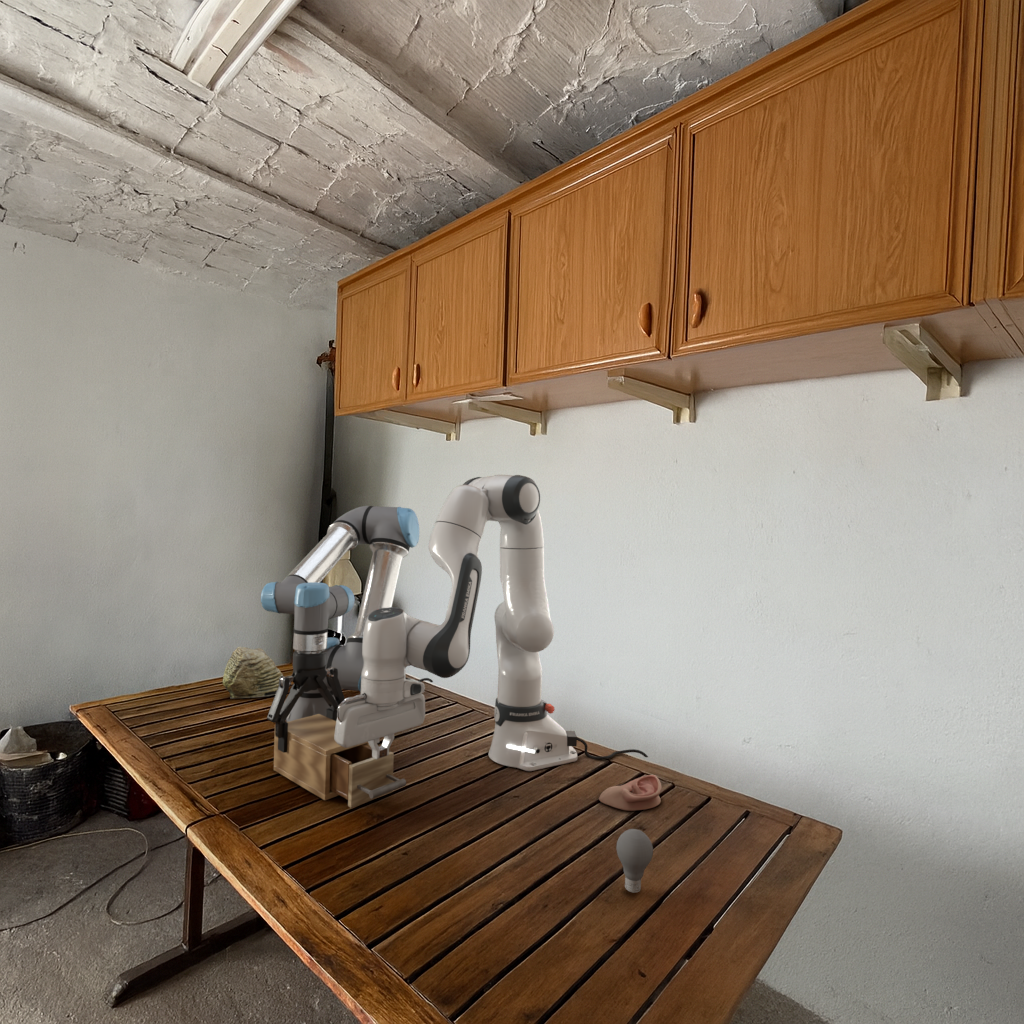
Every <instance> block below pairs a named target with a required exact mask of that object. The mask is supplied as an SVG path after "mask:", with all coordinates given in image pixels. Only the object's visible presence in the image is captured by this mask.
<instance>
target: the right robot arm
mask: <svg viewBox="0 0 1024 1024" xmlns="http://www.w3.org/2000/svg"><path fill="white" fill-rule="evenodd" d="M540 505H541V492H540V490H539V487H538V485H537V483H536V482H535V480H534V479H532V478H531V477H528V476H525V475H521V474H514V475H511V474H493V475H489V476H488V475H487V476H483V477H482V476H477V477H473V478H472V477H471V478H470V479H468V480H466V481H465V482H464V483H462V484H460V485H457V486H455V487H454V488H452V490H451V491H450V492H449V494H448V495H447V497H446V499H445V500H444V502H443V504H442V506H441V508H440V510H439V512H438V514H437V517H436V518H435V521H434V524H433V527H432V529H431V532H430V535H429V540H428V552H429V554H430V557H431V558H432V560H433V562H435V563H436V565H437V566H438V567H440V569H442V570H443V571H445V572H446V573H447V575H448V576H449V577H450V580H451V590H450V595H449V599H448V605H447V610H446V613H445V617H444V620H443V622H442V623H441V624H438V623H433V622H429V621H426V620H421V619H419V618H416V617H413V616H411V615H409V614H407V613H406V612H405V611H404V609H403V608H400V607H396V606H392V607H389V608H381V609H377V610H375V611H373V612H372V613H370V614H369V615H368V617H367V619H366V622H365V626H364V632H363V643H362V656H363V660H364V665H363V669H362V673H361V692H360V693H359V694H357V695H354V696H348V697H344V698H345V699H344V701H343V702H341V704H340V705H339V706H338V712H337V720H336V726H335V735H334V739H335V741H336V743H337V744H339V745H340V746H342V747H345V748H349V747H352V746H355V745H358V744H361V743H365V742H368V743H369V745H370V747H371V748H372V757H373V758H374V759H379V758H382V757H385V756H388V755H389V752H390V748H391V746H392V744H393V742H394V739H395V734H397V733H399V732H403V731H406V730H409V729H412V728H416V727H420V726H422V725H423V723H424V721H425V718H426V697H425V695H424V692H425V688H426V685H425V684H424V682H419V681H418V680H416V679H414V678H411V677H406V668H407V667H410V666H412V667H413V668H416V669H419V670H423V671H427V672H428V673H430V674H433V675H434V676H437V677H439V678H442V679H448V678H452V677H453V676H455V675H457V674H458V673H460V672H461V671H462V670H463V669H464V667H466V664H467V663H468V661H469V658H470V655H471V654H470V653H471V637H472V636H471V635H472V628H473V623H474V618H475V613H476V608H477V603H478V599H479V598H478V597H479V592H480V588H481V582H482V574H483V567H482V566H483V565H482V562H481V560H480V559H479V549H480V544H481V541H482V537H483V536H484V535H483V534H484V531H485V528H486V525H487V522H497V523H498V524H499V526H500V531H499V532H500V533H499V579H500V583H501V587H502V593H503V600H502V601H501V602H500V603H499V604H498V605H497V607H496V608H495V611H494V615H493V617H494V626H495V644H496V655H497V668H498V671H497V693H496V694H497V695H496V696H497V697H496V698H495V703H494V711H493V712H494V715H493V717H494V722H495V723H494V730H493V735H492V740H491V743H490V747H489V750H488V752H487V753H488V755H487V756H488V757H489V759H490V760H491V761H493V762H494V763H497V764H499V765H502V766H506V767H511V768H515V769H516V768H517V769H520V770H523V771H526V772H532V771H537V770H542V769H547V768H551V767H556V766H560V765H564V764H569V763H573V762H576V761H578V752H577V750H576V749H575V748H574V747H578V746H577V745H578V744H577V743H578V742H580V743H581V744H583V746H584V754H585V756H586V757H587V758H590V759H592V760H597V761H599V760H610V759H612V758H613V757H615V756H616V755H623V754H629V753H637V754H640V755H642V756H643V757H644V758H649V756H648V755H647V753H645V752H644V751H642V750H639V749H633V748H631V749H623V750H617V751H614V752H612V753H611V754H609V755H601V756H593V755H591V754H589V753H588V744H587V742H586V741H585V740H584V739H582V738H580V737H578V735H577V734H576V732H575V730H565V728H564V727H563V726H561V724H560V723H558V722H557V721H556V720H555V719H553V718H552V717H551V716H550V715H551V714H554V712H555V710H556V709H555V706H554V705H552V703H548V702H547V701H545V700H543V699H542V687H543V686H542V685H543V666H542V663H541V659H540V652H542V651H544V650H546V648H548V647H549V646H550V644H551V643H552V641H553V639H554V634H555V628H554V624H553V621H552V618H551V613H550V612H551V611H550V605H549V599H548V594H547V586H546V581H545V539H544V530H543V523H542V517H541V514H540V510H539V508H540ZM343 703H345V704H343ZM381 738H383V740H382V743H381V742H380V741H381ZM380 743H381V745H380V746H379V745H378V744H380Z"/></svg>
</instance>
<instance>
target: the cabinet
mask: <svg viewBox="0 0 1024 1024" xmlns="http://www.w3.org/2000/svg"><path fill="white" fill-rule="evenodd" d="M287 723H288V737H287V752H285V753H283V752H282V751H280V750H278V737H276V736H275V735H274V736H273V737H274V738H273V739H274V740H273V771H274V772H276V773H278V774H280V775H281V776H283V777H284V778H286V779H287V780H290V781H291V782H293V783H294V784H296V785H298V786H300V787H301V788H302V789H305V790H306V791H308V792H309V793H311V794H313V795H315V796H317V797H318V798H320V799H321V800H323V801H327V800H330V799H333V798H335V797H338V796H339V795H338V794H337V793H335V792H333V791H331V790H330V756H331V755H330V754H334V753H337V752H340V751H343V750H346V749H350V748H353V747H356V746H359V745H362V744H365V745H367V746H369V747H370V745H369V743H368V742H365V743H361V744H358V745H355V746H352V747H349V748H345V747H342V746H340V745H339V744H337V743H336V741H335V739H334V735H335V726H336V721H334V720H332V719H330V718H327V717H325V716H323V715H321V714H317V715H313V716H309V717H305V718H301V719H297V720H293V721H289V722H287Z"/></svg>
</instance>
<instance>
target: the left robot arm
mask: <svg viewBox="0 0 1024 1024" xmlns="http://www.w3.org/2000/svg"><path fill="white" fill-rule="evenodd" d="M419 541H420V523H419V519H418V516H417V513H416V512H415V511H414V510H413V508H409V507H401V506H379V505H362V506H359V507H358V506H357V507H355V508H353V509H351V510H349V511H347V512H345V513H344V514H342V515H341V516H339V517H338V518H336V520H334V521H333V522H332V523H331V524H330V525H329V526H328V528H327V531H326V535H325V536H323V538H322V539H320V541H319V542H318V543H316V545H315V546H314V547H313V548H312V549H311V550H310V551H309V553H307V555H306V556H304V557H303V558H302V560H301V561H300V562H299V563H298V564H297V565H296V566H295V567H294V568H293V569H292V570H291V571H290V572H289V573H288V574H287V576H286V577H285V578H283V580H282V581H280V582H279V581H271V582H267V583H266V584H265V585H264V586H263V588H262V589H261V593H260V603H261V607H262V608H263V609H264V610H265V611H267V612H270V613H277V614H286V615H294V616H293V617H294V618H293V619H294V620H293V622H294V623H293V624H294V625H293V626H294V627H293V639H292V641H293V643H292V649H293V650H294V651H293V653H292V668H293V669H292V674H291V675H288V676H284V675H283V676H280V678H279V687H278V690H277V692H276V695H274V697H273V701H272V702H271V706H270V708H269V711H268V714H267V716H266V720H267V721H269V722H271V723H273V724H274V736H276V737H278V750H280V751H282V752H283V753H285V752H287V737H288V723H287V722H289V721H293V720H297V719H301V718H305V717H309V716H313V715H317V714H321V715H323V716H325V717H327V718H330V719H332V720H334V721H336V720H337V712H338V706H339V705H340V704H341V702H343V701H344V699H345V698H346V697H345V695H344V692H343V690H347V691H354V692H360V693H361V673H362V669H363V665H364V660H363V656H362V643H363V632H364V626H365V622H366V619H367V617H368V615H369V614H370V613H372V612H373V611H375V610H377V609H381V608H389V607H393V603H394V598H395V594H396V588H397V584H398V580H399V574H400V570H401V565H402V560H403V559H404V558H406V557H407V556H409V553H410V548H412V549H413V548H415V547H417V545H418V544H419ZM358 545H368V548H369V549H370V551H371V552H372V556H371V560H370V565H369V567H368V573H367V577H366V582H365V586H364V590H363V595H362V599H361V603H360V608H359V612H358V616H357V620H356V625H355V628H354V632H353V633H352V634H350V635H349V636H348V637H347V639H346V643H345V645H344V644H343V645H342V644H340V643H341V641H340V639H339V638H338V637H334V636H333V637H328V633H329V628H328V627H329V620H332V619H336V618H339V617H343V616H344V615H346V614H348V613H350V612H351V610H353V608H354V606H355V602H356V600H355V594H354V592H353V590H352V589H351V588H350V587H348V586H347V585H343V584H340V585H338V584H335V585H331V586H329V585H328V583H325V582H322V581H323V580H324V578H326V577H327V575H329V573H330V572H331V571H332V569H334V567H335V566H336V565H337V564H338V562H339V561H340V560H341V559H342V558H343V557H344V556H345V555H346V554H347V553H348V552H349V551H352V550H354V549H355V548H357V546H358ZM417 681H419V682H421V683H423V682H427V681H428V682H429V683H434V680H432V678H429V677H424V678H420V679H418V680H417ZM292 683H293V684H292ZM290 687H291V688H290ZM343 704H345V703H343Z"/></svg>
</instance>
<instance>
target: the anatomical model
mask: <svg viewBox="0 0 1024 1024" xmlns="http://www.w3.org/2000/svg"><path fill="white" fill-rule="evenodd" d="M662 788H663V787H662V783H661V781H660V779H659V777H658V776H656V775H654V774H648V775H644V776H639V777H637V778H634V779H633V780H630V781H628V782H627V783H624V784H621V785H613V786H610V787H607V788H606V789H604V790H603V791H602V792H601V794H599V796H598V801H600V802H601V803H602V804H604V805H607V806H610V807H612V808H614V809H617V810H621V811H631V812H632V811H642V810H643V811H644V810H648V809H653V808H655V807H657V806H659V805H660V804H661V802H662V801H661V798H660V794H661V792H662V790H663V789H662Z"/></svg>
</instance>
